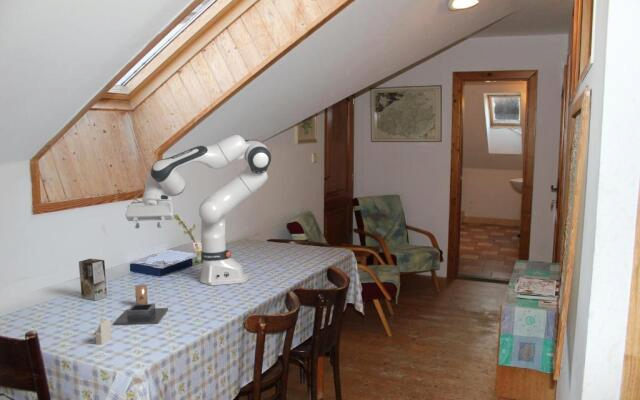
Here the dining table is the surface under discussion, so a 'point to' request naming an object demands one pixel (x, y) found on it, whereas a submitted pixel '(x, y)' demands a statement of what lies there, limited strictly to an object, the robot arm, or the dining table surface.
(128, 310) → the duct collar
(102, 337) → the architectural model
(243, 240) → the dining table surface
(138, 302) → the copper pipe stub
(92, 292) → the coffee box
